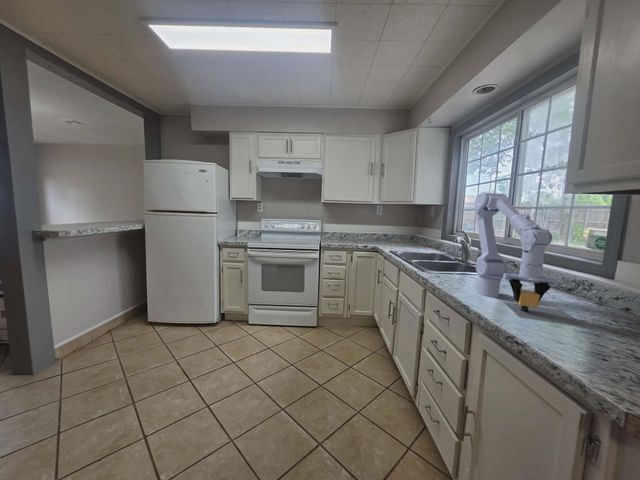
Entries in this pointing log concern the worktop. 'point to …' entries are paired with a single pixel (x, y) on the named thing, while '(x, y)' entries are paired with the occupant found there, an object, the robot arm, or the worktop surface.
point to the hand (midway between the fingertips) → (525, 302)
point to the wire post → (524, 308)
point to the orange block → (528, 298)
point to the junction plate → (546, 315)
